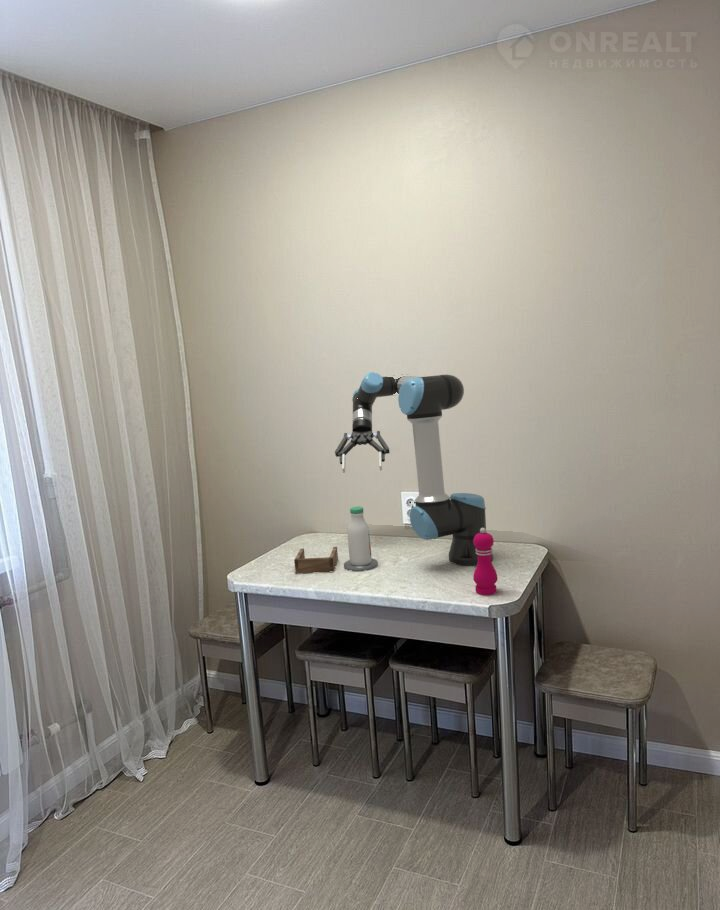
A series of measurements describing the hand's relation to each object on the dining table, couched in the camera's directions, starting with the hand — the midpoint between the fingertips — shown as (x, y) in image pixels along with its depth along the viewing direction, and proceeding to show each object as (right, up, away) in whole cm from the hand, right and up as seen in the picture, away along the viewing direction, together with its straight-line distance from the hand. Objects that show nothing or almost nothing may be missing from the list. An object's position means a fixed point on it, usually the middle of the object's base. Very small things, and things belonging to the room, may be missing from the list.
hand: (362, 469), depth 257 cm
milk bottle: (0, -33, -9) cm, 34 cm away
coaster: (0, -34, -9) cm, 35 cm away
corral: (-16, -35, -7) cm, 39 cm away
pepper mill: (+38, -36, -43) cm, 68 cm away
